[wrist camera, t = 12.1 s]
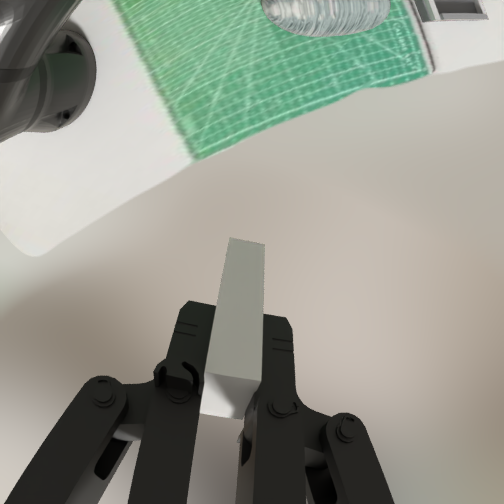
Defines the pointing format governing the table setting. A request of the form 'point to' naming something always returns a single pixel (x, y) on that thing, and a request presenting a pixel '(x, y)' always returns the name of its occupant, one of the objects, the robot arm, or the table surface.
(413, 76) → the table surface
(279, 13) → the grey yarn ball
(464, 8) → the gray rectangular tray
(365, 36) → the table surface
